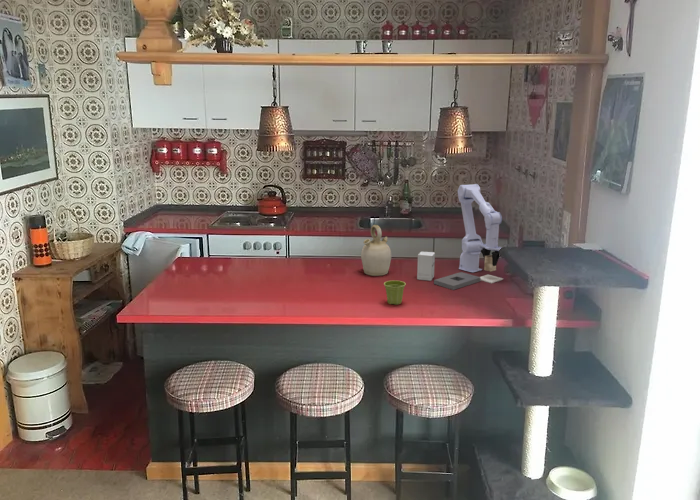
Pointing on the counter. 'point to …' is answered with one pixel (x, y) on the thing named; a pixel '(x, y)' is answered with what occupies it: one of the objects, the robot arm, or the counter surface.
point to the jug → (376, 254)
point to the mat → (490, 278)
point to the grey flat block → (461, 278)
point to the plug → (489, 263)
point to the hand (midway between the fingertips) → (490, 264)
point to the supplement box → (425, 266)
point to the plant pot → (394, 291)
